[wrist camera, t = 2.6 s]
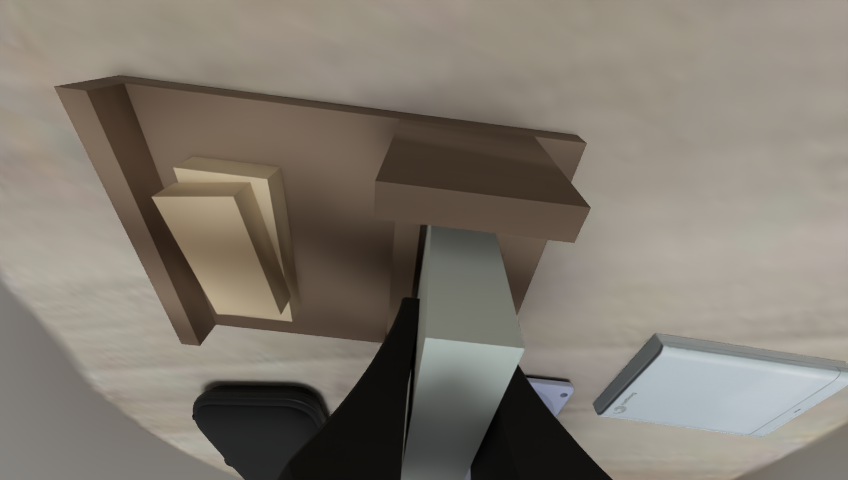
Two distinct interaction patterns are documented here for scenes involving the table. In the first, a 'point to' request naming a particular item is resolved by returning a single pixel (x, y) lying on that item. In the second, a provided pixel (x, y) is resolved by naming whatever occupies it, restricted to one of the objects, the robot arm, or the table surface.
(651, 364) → the hard drive
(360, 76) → the table surface
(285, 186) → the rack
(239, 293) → the offcut stack
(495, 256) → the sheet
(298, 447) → the carrying case or bag
